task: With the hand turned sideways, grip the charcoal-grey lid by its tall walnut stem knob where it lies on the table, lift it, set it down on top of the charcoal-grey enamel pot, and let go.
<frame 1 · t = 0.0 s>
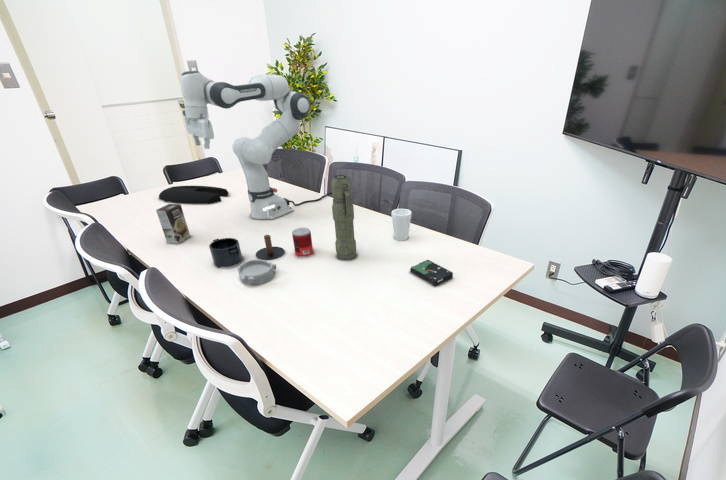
hand: (202, 146, 177), 39 cm above the table, tool pointing down, fingers open, 8 cm apart
pot: (228, 261, 168), on the table
lid: (270, 253, 173), point 1 cm above the table
coffee box: (179, 240, 186), on the table
foam cup: (401, 238, 190), on the table
disk drive: (431, 275, 159), on the table
docking station: (193, 197, 236), on the table
canned food: (304, 254, 174), on the table
thermos: (346, 256, 173), on the table
dish: (258, 277, 157), on the table
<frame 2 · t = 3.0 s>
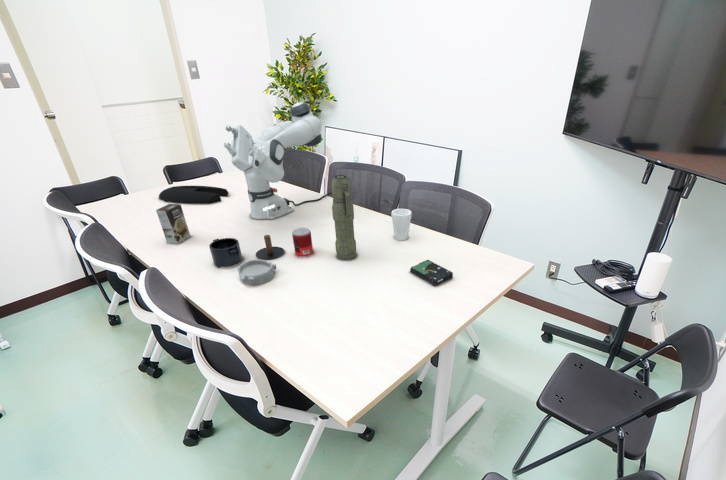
hand: (225, 135, 157), 48 cm above the table, tool pointing upward, fingers open, 8 cm apart
nothing on the table moved.
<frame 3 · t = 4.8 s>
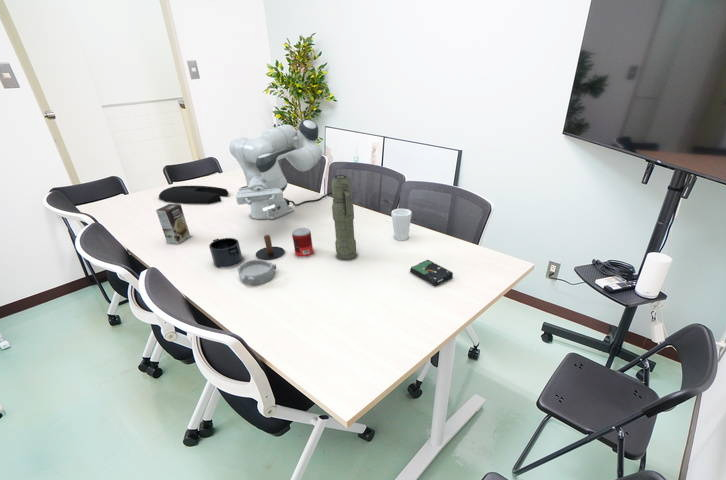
hand: (260, 201, 171), 20 cm above the table, tool horizontal, fingers open, 8 cm apart
nothing on the table moved.
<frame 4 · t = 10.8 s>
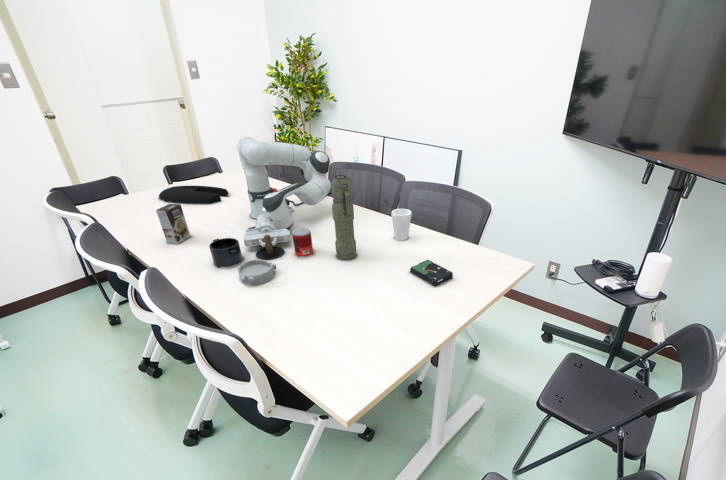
hand: (268, 244, 170), 5 cm above the table, tool horizontal, fingers closed on lid, 2 cm apart
lid: (270, 253, 173), point 1 cm above the table, touching gripper
everything else where it was.
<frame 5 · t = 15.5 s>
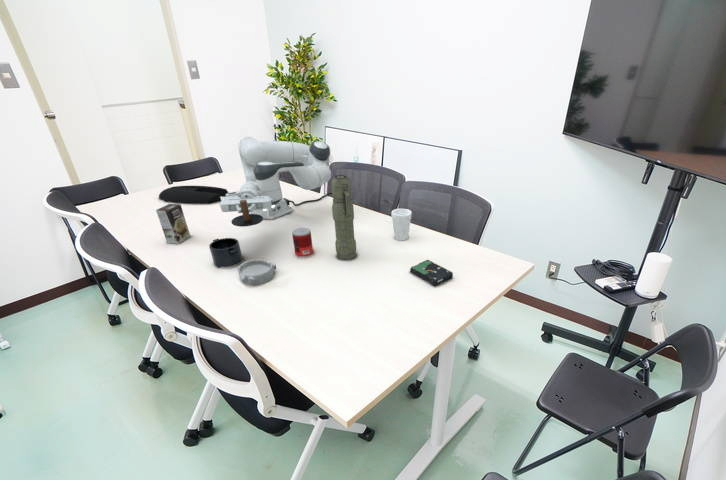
hand: (244, 210, 158), 22 cm above the table, tool horizontal, fingers closed on lid, 2 cm apart
lid: (247, 220, 161), point 17 cm above the table, touching gripper
everything else where it was.
when the fingers open (13 cm above the table, at t = 20.0 s): lid stays where it is, resting on pot.
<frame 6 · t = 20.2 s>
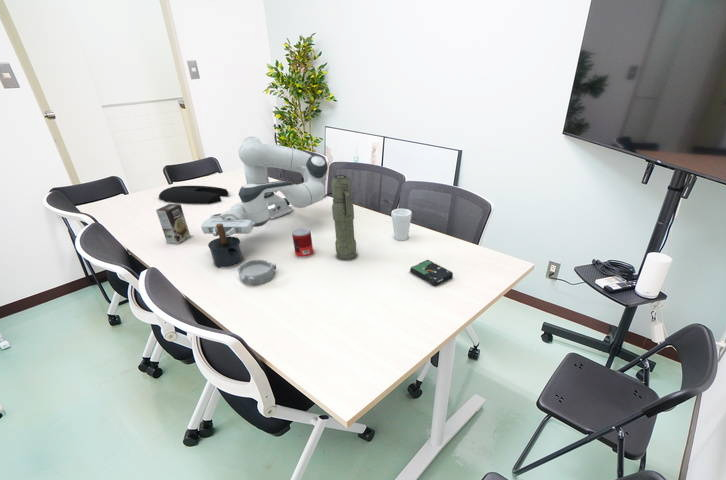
hand: (221, 234, 160), 13 cm above the table, tool horizontal, fingers open, 4 cm apart
lid: (224, 243, 163), point 8 cm above the table, touching pot
everything else where it was.
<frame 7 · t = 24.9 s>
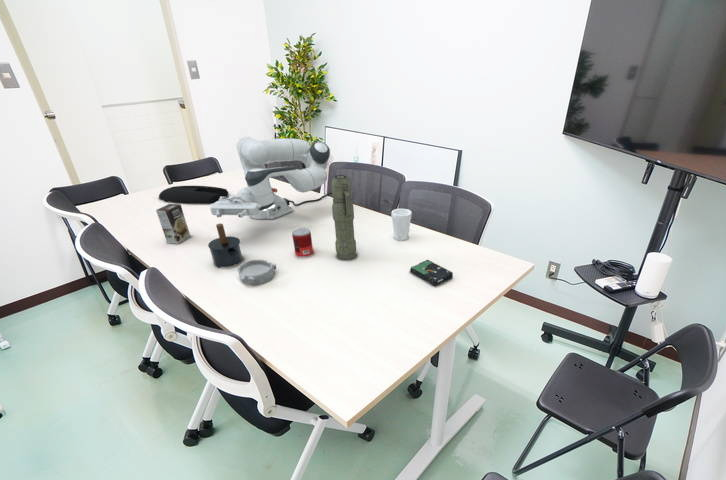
hand: (229, 215, 168), 16 cm above the table, tool horizontal, fingers open, 8 cm apart
nothing on the table moved.
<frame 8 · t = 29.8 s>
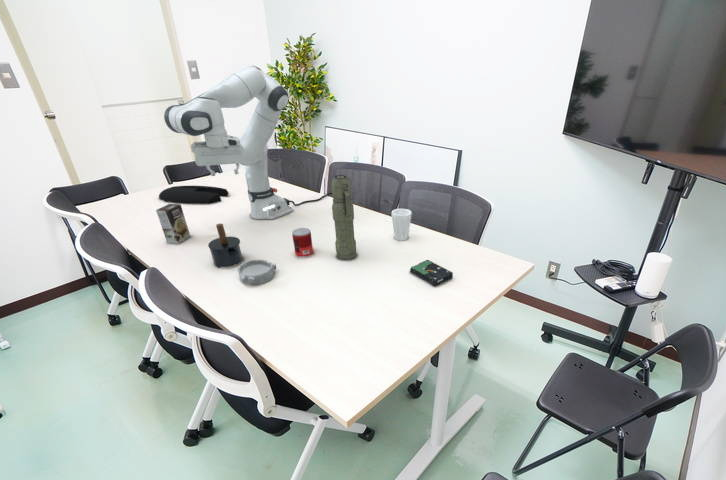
hand: (225, 174, 168), 31 cm above the table, tool pointing down, fingers open, 8 cm apart
nothing on the table moved.
at the end: lid 0.2 cm off-centre on the pot, point 8.5 cm above the pot's base; lid tilted 0°; the gripper is holding nothing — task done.
